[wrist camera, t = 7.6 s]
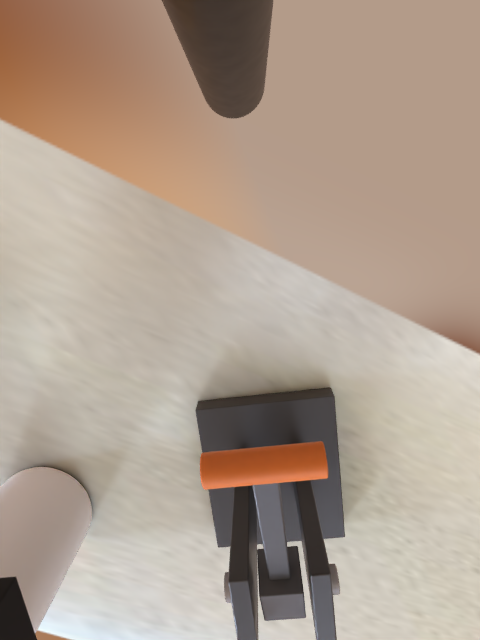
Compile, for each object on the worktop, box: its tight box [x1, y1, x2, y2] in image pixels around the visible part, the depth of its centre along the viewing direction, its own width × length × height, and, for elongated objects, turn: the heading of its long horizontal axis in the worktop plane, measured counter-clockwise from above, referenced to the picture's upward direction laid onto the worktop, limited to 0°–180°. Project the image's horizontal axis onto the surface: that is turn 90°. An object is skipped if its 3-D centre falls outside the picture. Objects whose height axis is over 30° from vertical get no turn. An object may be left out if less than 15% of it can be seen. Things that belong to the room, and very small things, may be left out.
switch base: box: [196, 388, 345, 640], centre depth 28 cm, size 12×10×13 cm
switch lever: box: [200, 441, 328, 621], centre depth 20 cm, size 12×5×2 cm, turn 7°
